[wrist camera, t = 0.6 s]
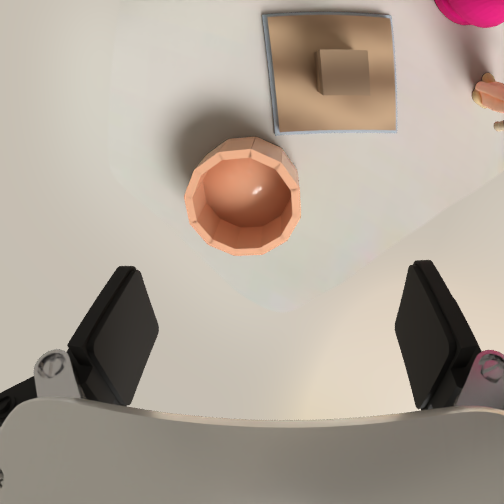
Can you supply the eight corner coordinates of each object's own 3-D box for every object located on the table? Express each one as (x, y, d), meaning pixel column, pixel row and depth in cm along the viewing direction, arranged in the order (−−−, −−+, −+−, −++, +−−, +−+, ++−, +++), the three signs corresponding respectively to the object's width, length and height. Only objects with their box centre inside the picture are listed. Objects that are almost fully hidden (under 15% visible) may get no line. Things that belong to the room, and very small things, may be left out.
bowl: (191, 143, 33) (176, 157, 29) (294, 133, 32) (296, 145, 27) (207, 232, 39) (197, 257, 34) (300, 227, 38) (302, 252, 33)
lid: (267, 18, 25) (264, 7, 20) (387, 19, 24) (407, 11, 19) (279, 130, 32) (279, 143, 26) (392, 128, 30) (413, 141, 25)
